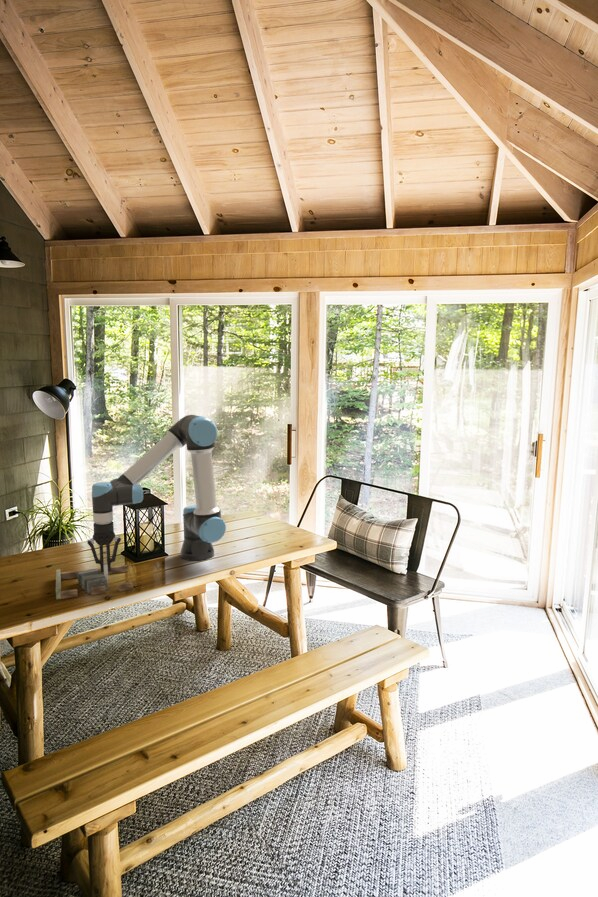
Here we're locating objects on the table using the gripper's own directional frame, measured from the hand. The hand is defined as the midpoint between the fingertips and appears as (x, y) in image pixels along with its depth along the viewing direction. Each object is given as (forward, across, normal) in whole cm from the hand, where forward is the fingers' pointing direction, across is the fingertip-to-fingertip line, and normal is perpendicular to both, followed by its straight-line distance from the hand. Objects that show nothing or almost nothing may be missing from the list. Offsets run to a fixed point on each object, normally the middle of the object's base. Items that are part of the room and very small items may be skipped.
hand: (106, 579), depth 245 cm
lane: (+1, +4, 0) cm, 4 cm away
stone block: (+2, +5, +2) cm, 6 cm away
